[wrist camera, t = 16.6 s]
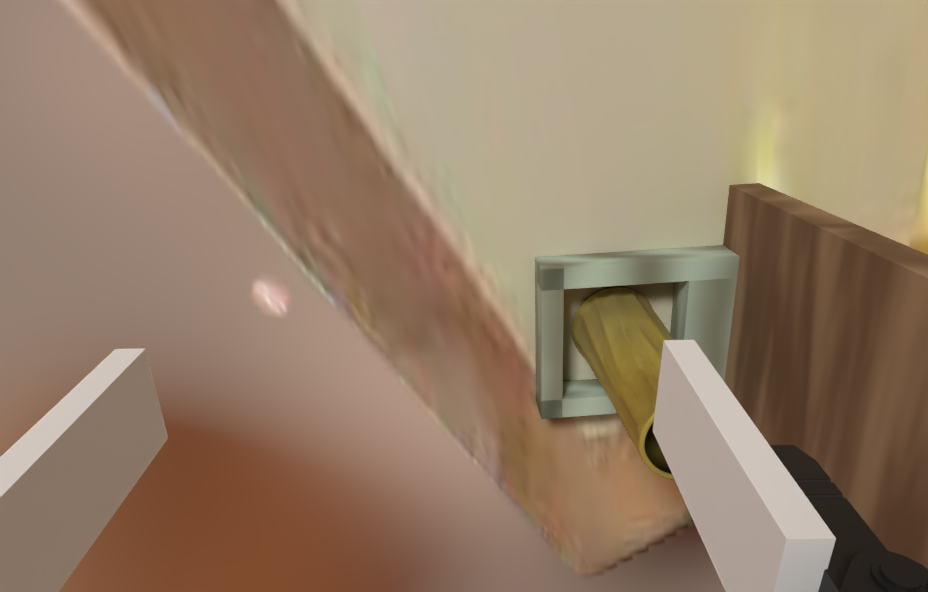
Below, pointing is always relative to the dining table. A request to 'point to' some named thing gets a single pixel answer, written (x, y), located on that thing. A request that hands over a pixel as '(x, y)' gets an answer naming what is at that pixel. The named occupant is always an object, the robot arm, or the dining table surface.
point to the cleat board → (787, 344)
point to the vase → (626, 361)
